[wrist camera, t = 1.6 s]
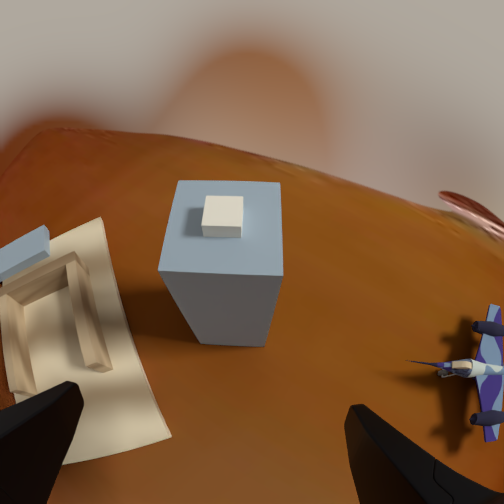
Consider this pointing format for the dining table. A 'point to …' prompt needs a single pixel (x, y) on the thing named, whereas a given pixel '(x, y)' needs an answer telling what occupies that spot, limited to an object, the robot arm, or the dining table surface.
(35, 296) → the jig
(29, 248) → the light blue bar
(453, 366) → the toy airplane
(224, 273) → the blue-grey rectangular block
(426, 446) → the dining table surface
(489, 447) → the dining table surface
